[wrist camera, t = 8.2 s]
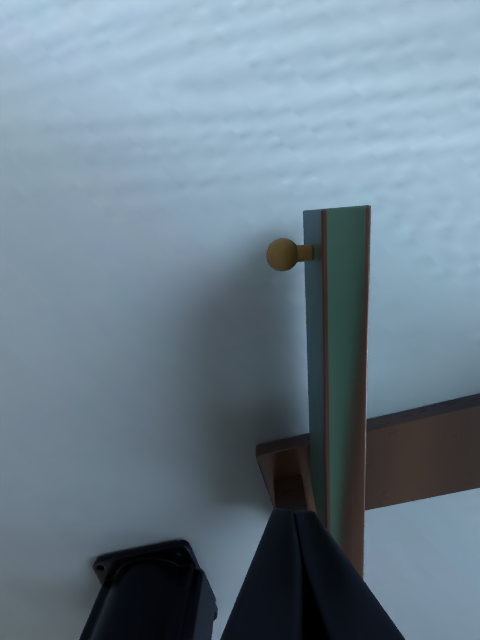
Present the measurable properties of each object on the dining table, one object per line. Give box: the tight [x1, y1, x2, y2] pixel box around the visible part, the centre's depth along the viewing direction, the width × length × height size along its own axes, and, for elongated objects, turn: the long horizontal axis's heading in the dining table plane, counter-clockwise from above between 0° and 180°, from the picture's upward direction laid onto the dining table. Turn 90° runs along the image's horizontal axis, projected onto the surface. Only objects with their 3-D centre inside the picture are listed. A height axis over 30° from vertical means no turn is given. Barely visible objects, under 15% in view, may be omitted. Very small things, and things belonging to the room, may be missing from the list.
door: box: [266, 205, 371, 579], centre depth 15 cm, size 15×3×5 cm, turn 5°
